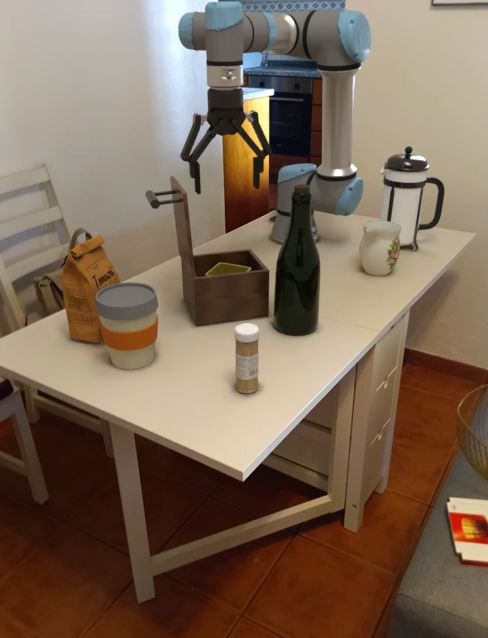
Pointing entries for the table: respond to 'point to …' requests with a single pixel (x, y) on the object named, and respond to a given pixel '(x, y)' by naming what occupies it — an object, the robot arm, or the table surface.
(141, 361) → the reusable coffee cup
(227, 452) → the table surface
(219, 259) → the chest
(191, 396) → the table surface
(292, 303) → the dark green wine bottle
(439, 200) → the coffee press
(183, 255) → the lid
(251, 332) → the sprinkles bottle
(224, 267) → the flower pot
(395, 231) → the pitcher
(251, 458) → the table surface
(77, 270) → the coffee package
